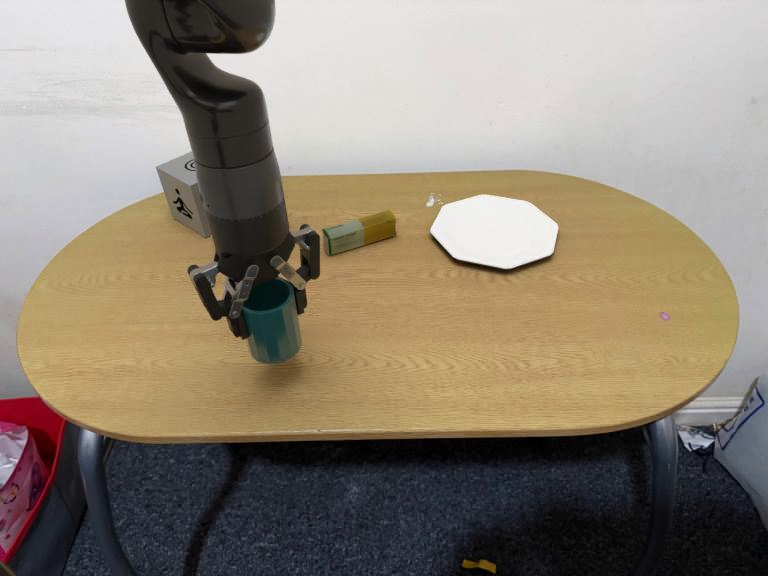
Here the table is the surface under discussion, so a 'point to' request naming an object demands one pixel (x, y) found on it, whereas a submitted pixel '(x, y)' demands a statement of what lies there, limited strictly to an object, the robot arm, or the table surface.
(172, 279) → the table surface
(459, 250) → the plate
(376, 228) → the medication box
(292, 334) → the teal cup
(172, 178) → the icon cube
